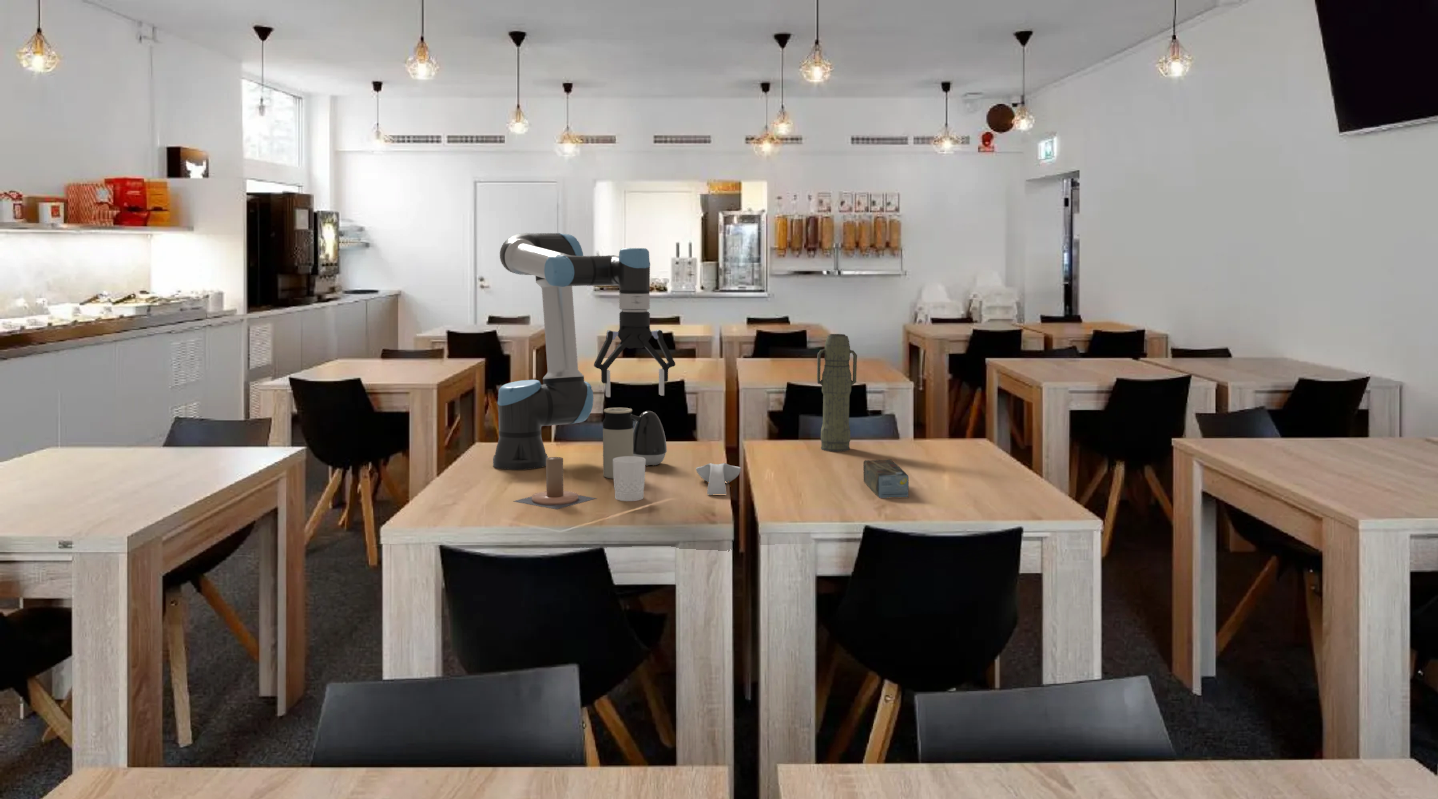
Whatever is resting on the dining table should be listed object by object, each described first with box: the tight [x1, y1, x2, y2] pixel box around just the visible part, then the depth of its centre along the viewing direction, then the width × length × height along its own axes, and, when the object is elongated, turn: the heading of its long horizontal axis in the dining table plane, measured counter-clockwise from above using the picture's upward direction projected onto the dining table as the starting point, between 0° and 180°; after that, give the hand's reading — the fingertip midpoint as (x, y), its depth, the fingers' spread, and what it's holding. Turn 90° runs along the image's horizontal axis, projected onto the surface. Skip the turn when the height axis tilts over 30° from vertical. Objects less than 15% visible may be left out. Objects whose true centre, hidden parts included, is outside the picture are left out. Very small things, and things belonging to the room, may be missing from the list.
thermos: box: [816, 333, 858, 453], centre depth 333 cm, size 9×12×35 cm
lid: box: [532, 456, 579, 505], centre depth 261 cm, size 11×11×10 cm
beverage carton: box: [862, 459, 909, 499], centre depth 278 cm, size 8×19×7 cm, turn 4°
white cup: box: [613, 456, 646, 502], centre depth 264 cm, size 8×8×10 cm
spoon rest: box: [695, 462, 742, 496], centre depth 281 cm, size 24×12×7 cm, turn 0°
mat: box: [512, 494, 597, 510], centre depth 262 cm, size 14×14×1 cm
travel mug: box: [602, 407, 634, 480], centre depth 291 cm, size 8×8×18 cm
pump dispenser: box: [630, 410, 668, 467], centre depth 308 cm, size 10×10×15 cm
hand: (634, 395), depth 275 cm, fingers open, 13 cm apart
